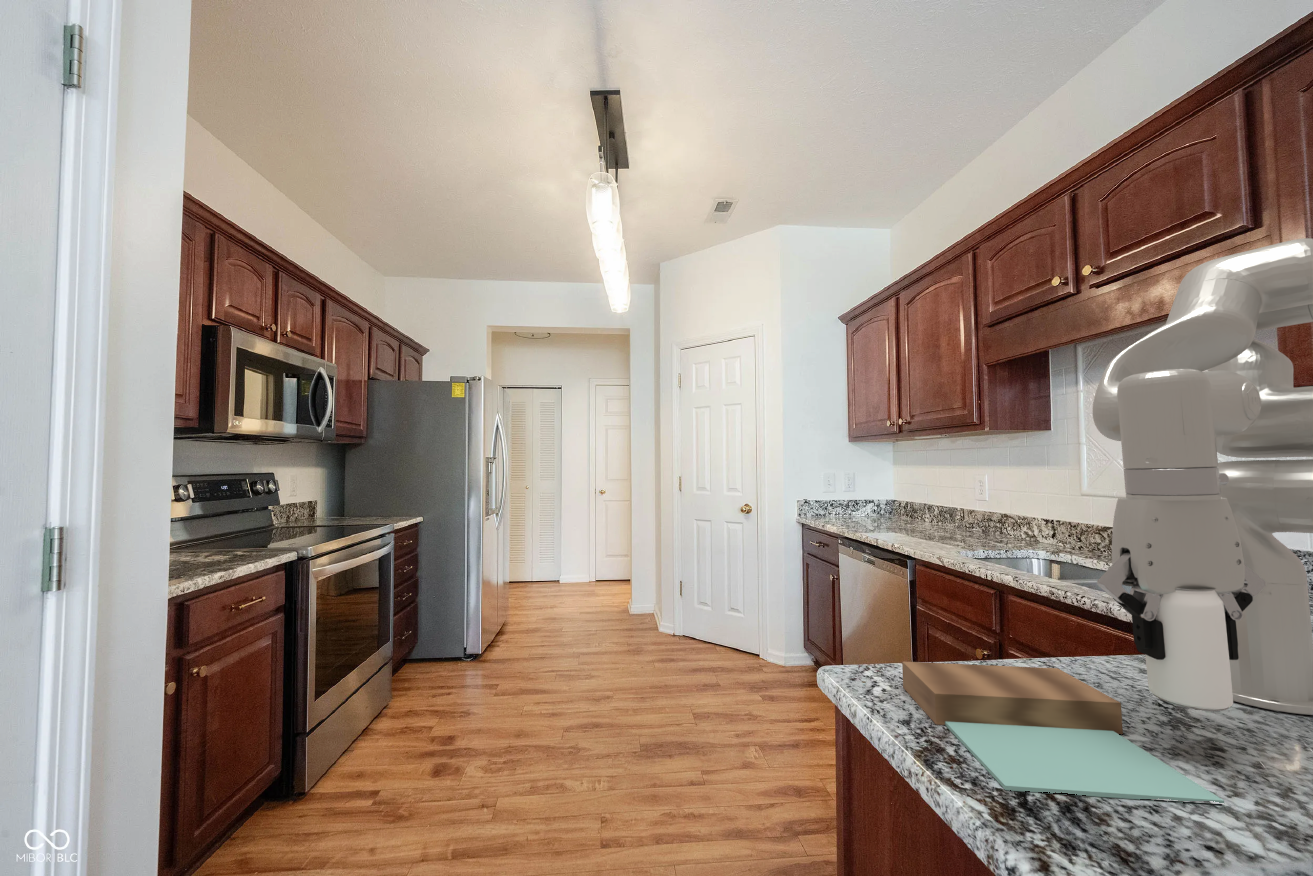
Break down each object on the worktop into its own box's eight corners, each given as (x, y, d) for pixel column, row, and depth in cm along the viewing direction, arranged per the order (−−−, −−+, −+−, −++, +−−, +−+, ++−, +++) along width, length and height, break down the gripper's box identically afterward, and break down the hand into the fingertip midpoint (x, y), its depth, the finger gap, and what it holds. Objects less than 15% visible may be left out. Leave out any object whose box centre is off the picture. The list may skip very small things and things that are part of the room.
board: (1059, 695, 74) (1057, 668, 74) (1123, 735, 62) (1120, 702, 62) (903, 687, 76) (902, 661, 77) (935, 724, 65) (934, 693, 65)
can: (1180, 684, 62) (1171, 576, 63) (1252, 708, 55) (1240, 587, 56) (1132, 690, 61) (1123, 580, 61) (1199, 716, 54) (1188, 592, 55)
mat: (1113, 734, 62) (1113, 730, 62) (1224, 805, 48) (1224, 800, 48) (945, 725, 64) (944, 721, 64) (1005, 790, 51) (1005, 785, 51)
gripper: (1228, 481, 62) (1243, 644, 61) (1062, 486, 64) (1075, 644, 63) (1296, 483, 55) (1316, 669, 54) (1107, 489, 57) (1122, 668, 56)
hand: (1185, 654), depth 58 cm, fingers closed on can, 6 cm apart
